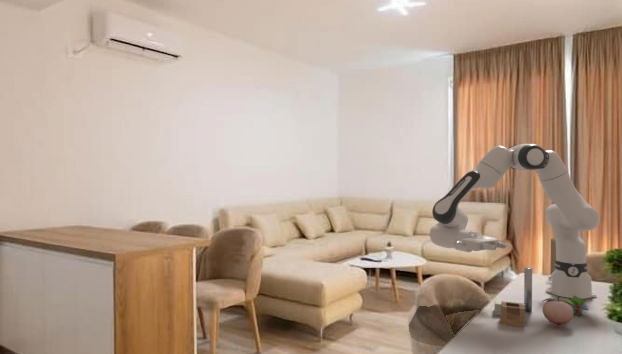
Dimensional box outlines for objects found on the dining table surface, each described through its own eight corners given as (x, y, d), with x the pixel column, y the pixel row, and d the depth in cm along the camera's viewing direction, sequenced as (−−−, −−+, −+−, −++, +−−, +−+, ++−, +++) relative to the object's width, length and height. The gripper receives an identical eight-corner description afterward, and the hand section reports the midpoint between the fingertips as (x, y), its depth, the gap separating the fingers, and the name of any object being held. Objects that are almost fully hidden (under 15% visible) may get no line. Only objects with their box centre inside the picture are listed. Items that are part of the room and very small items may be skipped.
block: (494, 309, 164) (494, 298, 164) (514, 311, 161) (515, 301, 161) (494, 314, 157) (494, 303, 157) (516, 317, 154) (516, 306, 155)
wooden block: (579, 283, 207) (580, 241, 207) (556, 282, 209) (557, 240, 209) (571, 278, 217) (571, 238, 217) (549, 277, 219) (550, 237, 219)
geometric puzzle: (592, 314, 152) (587, 292, 157) (570, 312, 154) (566, 290, 159) (586, 321, 158) (581, 300, 163) (565, 319, 160) (561, 298, 164)
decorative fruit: (546, 329, 143) (546, 298, 143) (540, 321, 150) (540, 292, 150) (578, 332, 140) (578, 301, 140) (570, 324, 148) (570, 294, 148)
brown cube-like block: (501, 318, 154) (501, 301, 154) (523, 320, 151) (523, 303, 151) (501, 324, 147) (501, 306, 147) (524, 326, 144) (524, 308, 144)
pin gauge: (523, 310, 163) (524, 267, 163) (531, 310, 162) (531, 268, 162) (524, 312, 161) (524, 268, 161) (532, 312, 160) (532, 269, 160)
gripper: (454, 234, 172) (489, 240, 162) (478, 232, 186) (511, 237, 176) (453, 250, 172) (487, 257, 162) (477, 246, 186) (510, 253, 176)
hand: (500, 247), depth 169 cm, fingers open, 8 cm apart
